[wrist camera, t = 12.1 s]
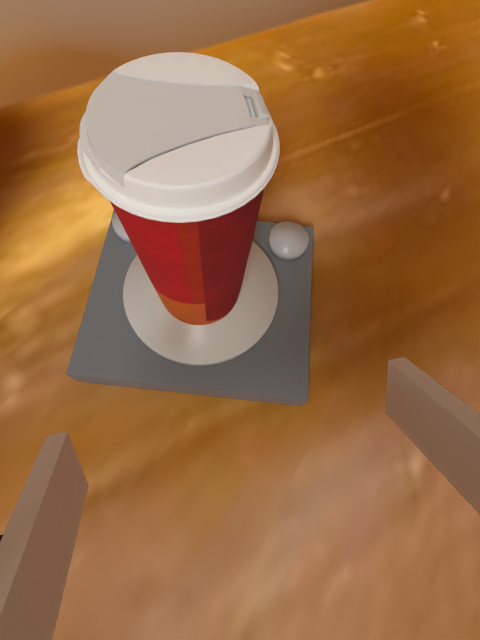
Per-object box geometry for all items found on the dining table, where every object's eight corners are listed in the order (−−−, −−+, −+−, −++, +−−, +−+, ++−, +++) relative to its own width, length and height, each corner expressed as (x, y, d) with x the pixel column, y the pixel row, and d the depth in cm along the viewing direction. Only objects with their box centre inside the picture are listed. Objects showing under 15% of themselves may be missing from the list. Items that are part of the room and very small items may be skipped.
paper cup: (241, 236, 28) (258, 35, 15) (264, 329, 25) (309, 180, 12) (138, 252, 27) (60, 52, 14) (150, 350, 24) (67, 212, 11)
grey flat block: (307, 241, 32) (316, 218, 29) (301, 405, 26) (311, 398, 23) (121, 220, 31) (112, 196, 29) (77, 381, 26) (60, 370, 23)
